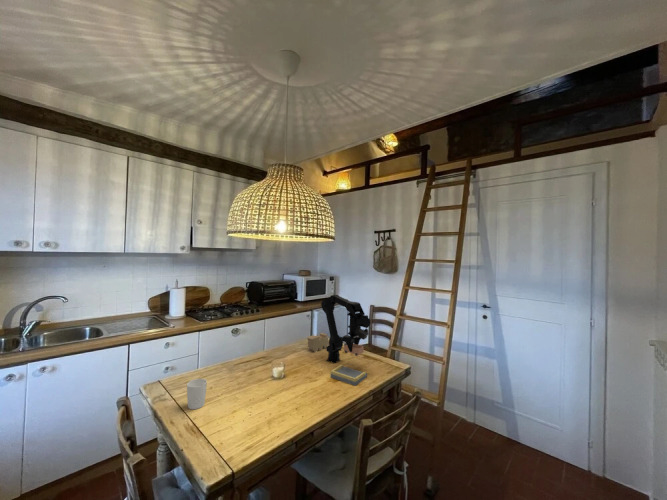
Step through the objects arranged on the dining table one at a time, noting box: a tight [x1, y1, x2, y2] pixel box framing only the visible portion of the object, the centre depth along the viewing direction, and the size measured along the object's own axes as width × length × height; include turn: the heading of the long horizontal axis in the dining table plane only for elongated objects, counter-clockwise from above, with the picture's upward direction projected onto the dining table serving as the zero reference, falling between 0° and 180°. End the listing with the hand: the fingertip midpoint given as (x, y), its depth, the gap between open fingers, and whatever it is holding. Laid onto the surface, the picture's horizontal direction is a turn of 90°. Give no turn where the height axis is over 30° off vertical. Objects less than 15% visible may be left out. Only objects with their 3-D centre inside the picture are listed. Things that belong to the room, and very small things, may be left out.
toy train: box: [306, 332, 329, 353], centre depth 198 cm, size 6×17×10 cm, turn 137°
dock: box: [330, 364, 368, 387], centre depth 156 cm, size 16×13×4 cm
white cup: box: [186, 378, 208, 410], centre depth 123 cm, size 8×8×10 cm
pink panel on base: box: [343, 342, 365, 356], centre depth 165 cm, size 10×6×5 cm, turn 57°
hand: (353, 350), depth 165 cm, fingers closed on pink panel on base, 6 cm apart
